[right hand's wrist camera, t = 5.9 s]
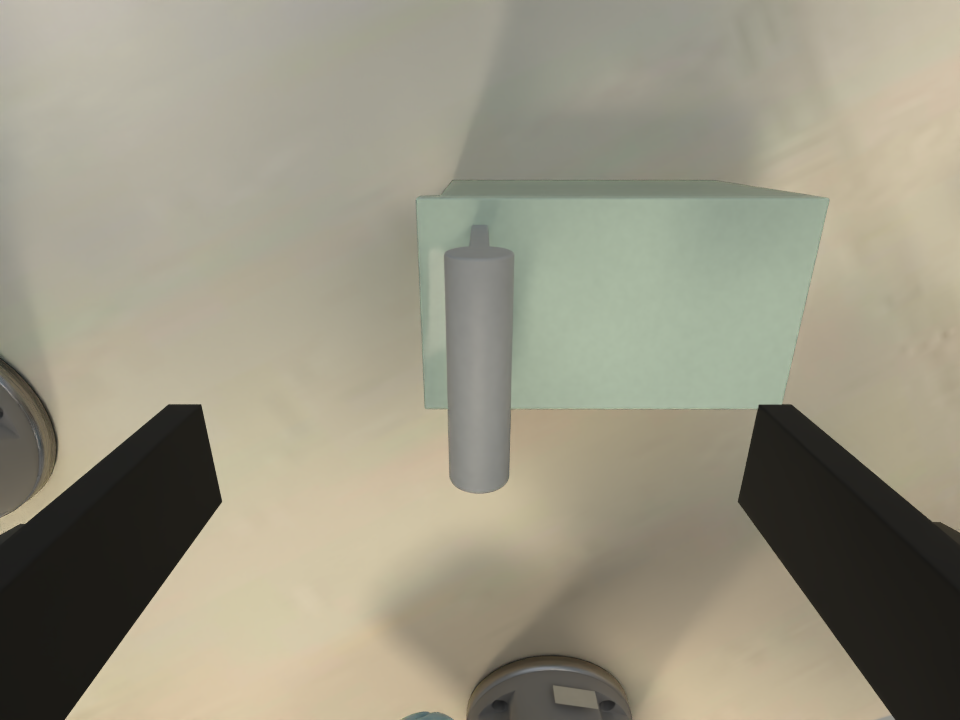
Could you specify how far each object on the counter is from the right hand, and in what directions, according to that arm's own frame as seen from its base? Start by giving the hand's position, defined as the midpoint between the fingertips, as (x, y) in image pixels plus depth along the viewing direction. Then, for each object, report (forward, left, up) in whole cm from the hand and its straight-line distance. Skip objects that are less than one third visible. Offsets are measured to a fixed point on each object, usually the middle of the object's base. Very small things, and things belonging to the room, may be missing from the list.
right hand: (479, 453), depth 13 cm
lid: (+2, -5, -13) cm, 14 cm away
